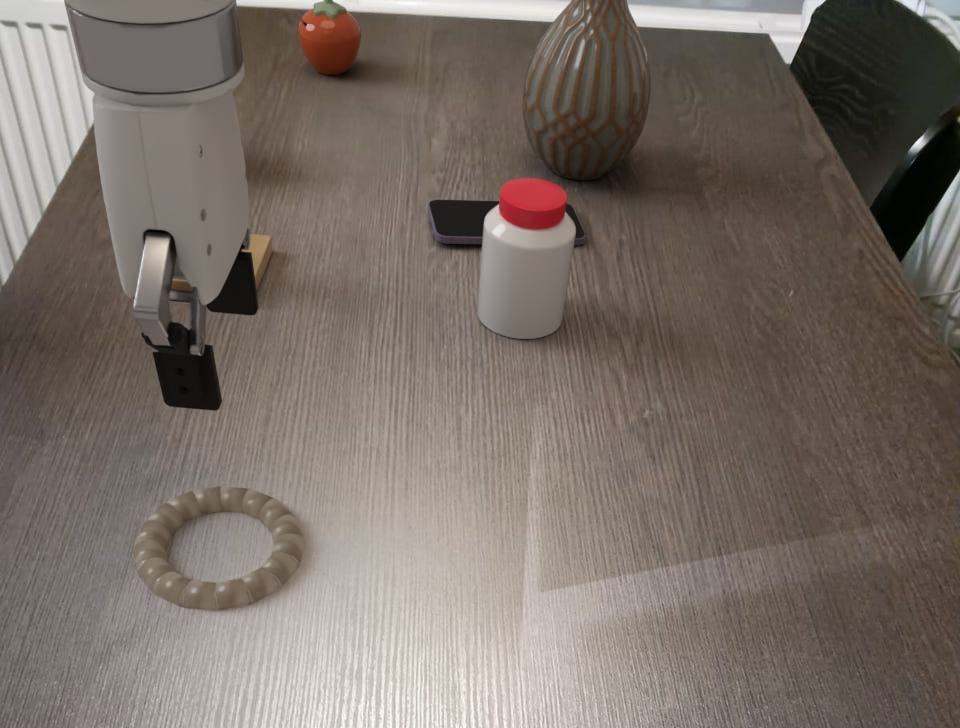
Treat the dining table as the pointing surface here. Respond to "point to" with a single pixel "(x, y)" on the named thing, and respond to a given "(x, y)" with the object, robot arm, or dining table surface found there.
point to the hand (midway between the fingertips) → (214, 356)
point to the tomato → (329, 37)
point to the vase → (587, 89)
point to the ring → (224, 593)
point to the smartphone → (473, 220)
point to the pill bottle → (526, 260)
